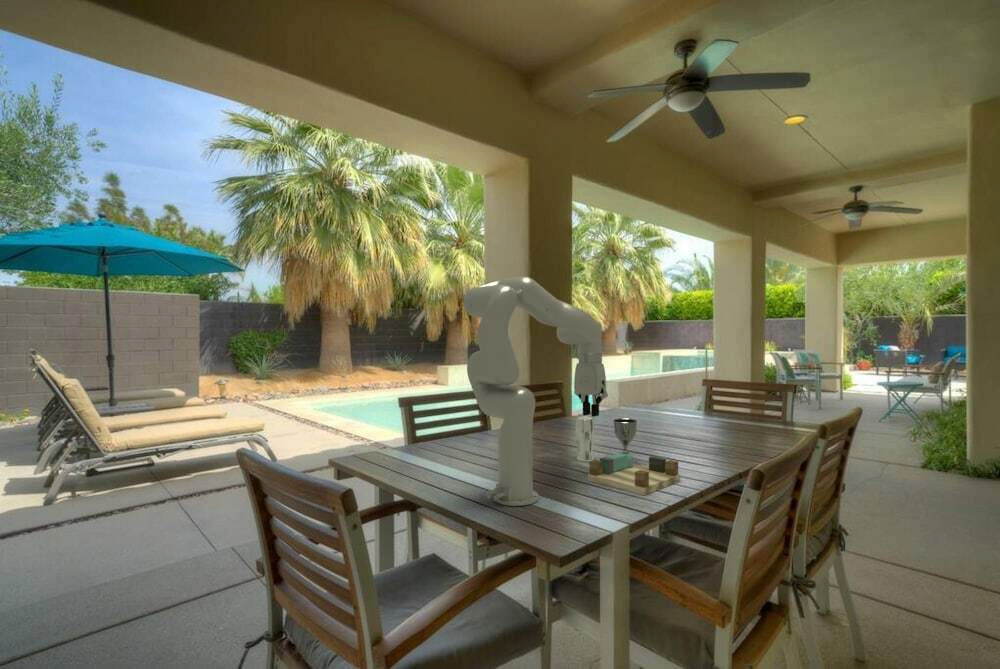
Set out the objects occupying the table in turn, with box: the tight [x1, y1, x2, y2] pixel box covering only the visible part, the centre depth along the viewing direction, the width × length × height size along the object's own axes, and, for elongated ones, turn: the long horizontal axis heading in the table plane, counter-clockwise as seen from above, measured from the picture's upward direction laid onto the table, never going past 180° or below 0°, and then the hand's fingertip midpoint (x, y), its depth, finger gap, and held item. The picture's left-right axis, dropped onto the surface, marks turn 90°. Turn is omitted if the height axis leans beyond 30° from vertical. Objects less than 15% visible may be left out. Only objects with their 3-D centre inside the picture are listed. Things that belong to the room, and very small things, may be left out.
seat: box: [587, 456, 681, 496], centre depth 158 cm, size 20×20×6 cm
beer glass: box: [574, 416, 596, 463], centre depth 185 cm, size 7×7×15 cm
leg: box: [599, 450, 634, 473], centre depth 164 cm, size 14×4×5 cm, turn 132°
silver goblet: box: [613, 418, 638, 465], centre depth 179 cm, size 8×8×15 cm
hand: (590, 415), depth 166 cm, fingers open, 2 cm apart
